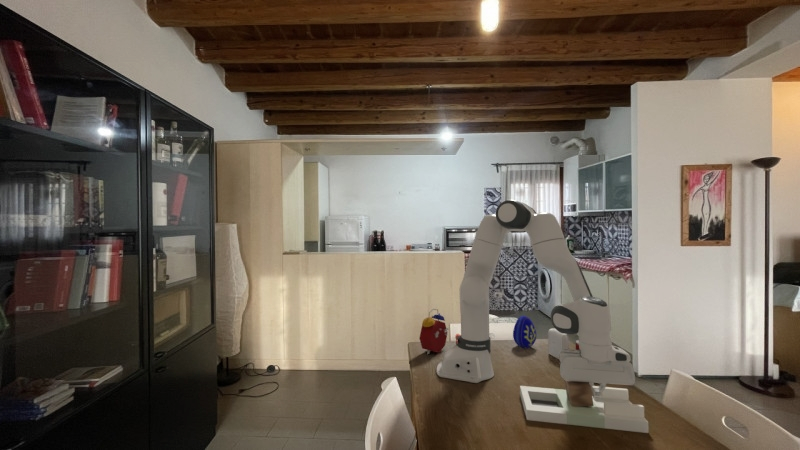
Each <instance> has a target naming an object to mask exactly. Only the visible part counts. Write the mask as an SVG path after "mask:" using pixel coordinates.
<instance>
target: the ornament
mask: <svg viewBox="0 0 800 450" xmlns="http://www.w3.org/2000/svg"><path fill="white" fill-rule="evenodd" d="M512 330H513V331H512V339H513V341H514V343H515V344H516V345H517V346H519V347H520V348H522V349H529V348H531V347H533V345H534V344H535V342H536V341H537V330H536V327H535V325H534V322H533V321H532V320H531V319H530V318H529V317H528V316H526V315H520V316H519V317H517V320H516V322H515V323H514V327H513V329H512Z"/></svg>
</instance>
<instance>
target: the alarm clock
mask: <svg viewBox="0 0 800 450" xmlns="http://www.w3.org/2000/svg"><path fill="white" fill-rule="evenodd" d="M433 311H437V314H433V315H432V316H431V317H430V314H431V312H433ZM443 321H446V319H445V317H444V316H443V315H441V312H440V313H439V309H437V308H432V309H431V310H430V311H429V312H428V316H427V317H425V318H424V319H423V321H422V324H421V330H420V334H419V341H420V345H421V349H422V350H423V349H424V350H427V351H426V352H427V354H426V355H428V354H429V355H430V353H431V352H434V353H438V354H439V352H440V353H441V351H442V350H443V348H444V347H445V346H446V342H447V339H448V331H449V329H450V328H449V327H447V325H446V323H445V322H443Z"/></svg>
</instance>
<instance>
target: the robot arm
mask: <svg viewBox="0 0 800 450" xmlns="http://www.w3.org/2000/svg"><path fill="white" fill-rule="evenodd" d="M509 233H511V234H513V233H514V234H517V233H519V234H520V233H526V234H528V237H529V240H530V245H531V247H532V251H533V255H534V257H535V260H536V262H538V263H539V264H540V265H541V266H542V267H543V268H546V269H548V270H551V271H554V272H556V273H557V274H559V275H561V277H563V279H564V280H565V282H566V285H567V287H568V289H569V292H570V294H571V296H572V300H573V301H570V302H568V303H562V304H559V305H555V306H554V307H553V308H552V310H551V311H550V312H551V313H550V322H551V324H552V326H553V328H555V329H556V330H557V331H559V332H560V333H564V334H567V335H576V336H578V340H579V350H576V349H570V348H569V349H565V350H564V351H561V352H560V354H559V359H558V360H559V362H560V365H559V366H560V367H559V374H560V377H561V379H563V380H564V382H565V381H578V382H588V383H589V384H590V386H591V391H592V396H593V397H602V392H603V391H604V389H605V388H606V387H607V384H608V385H610V384H611V385H622V386H624V385H625V386H633V385H634V384H635V382H636V376H635V375H636V374H635V369H634V368H635V367H634V366H633V364H632V363H631V360H632V358H631V355H630V354H629V353H628V352H627V351H626V350H624V349H623V348H622V347H618V346H615V345H613V344H612V343H613V342H612V338H611V331H612V317H611V310H610V308H609V305H608V303H607V302H606V301H605V300H604V299H601V298H599V297H595V296H594V295H593V294H592V292H591V289H590V287H589V285H588V283H587V279H586V278H585V276H584V273H583V271H582V268H581V266H580V264H579V262H578V261H577V260H576V258H575V257H574V256H573V255H572V253H571V251H570V249H569V247H568V244H567V241H566V237H565V235H564V232H563V230H562V228H561V225H560V223H559V221H558V219H557V217H556V215H554V214H552V213H550V212H538V213H537V212H536V210H535V209H534V208H533V207H531V206H530V205H528V204H527V203H524V202H520V201H519V200H516V199H505V200H504V201H502V202H500V203H499V204H498V206H497V208H496V210H495V213H494V214H493V213H490V214H487V215H484V217H482V220H481V221H480V223H479V225H478V228H477V230H476V233H475V236H474V239H473V243H472V247H471V250H470V253H469V256H468V260H467V264H466V266H465V270H464V273H463V274H464V275H463V277H462V281H461V283H460V285H459V310H460V311H459V312H460V334H459V333H457V334H456V335H455V345H454V346H452V347H451V348H449V349H447V350H446V351H445V352H444V354H443V356H442V360H441V361H440V362H439V363H438V364H437V366H436V374H437V376H438V377H440V378H445V379H450V380H456V381H463V382H468V383H474V384H478V383H480V382H482V381H486V380H490V379H492V378H493V377H494V376H495V372H494V368H493V364H492V363H493V362H492V358H491V353H492V352H491V350H492V340H491V337H490V285H491V283H492V279H493V277H494V274H495V270H496V268H497V265H498V262H499V259H500V255H501V251H502V248H503V246H504V241H505V239H506V236H507V235H508V234H509ZM563 352H564V353H563ZM596 383H597V384H599V385H598V386H599V388H598V389H594V388H593V387H592V386H595V384H596Z"/></svg>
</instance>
